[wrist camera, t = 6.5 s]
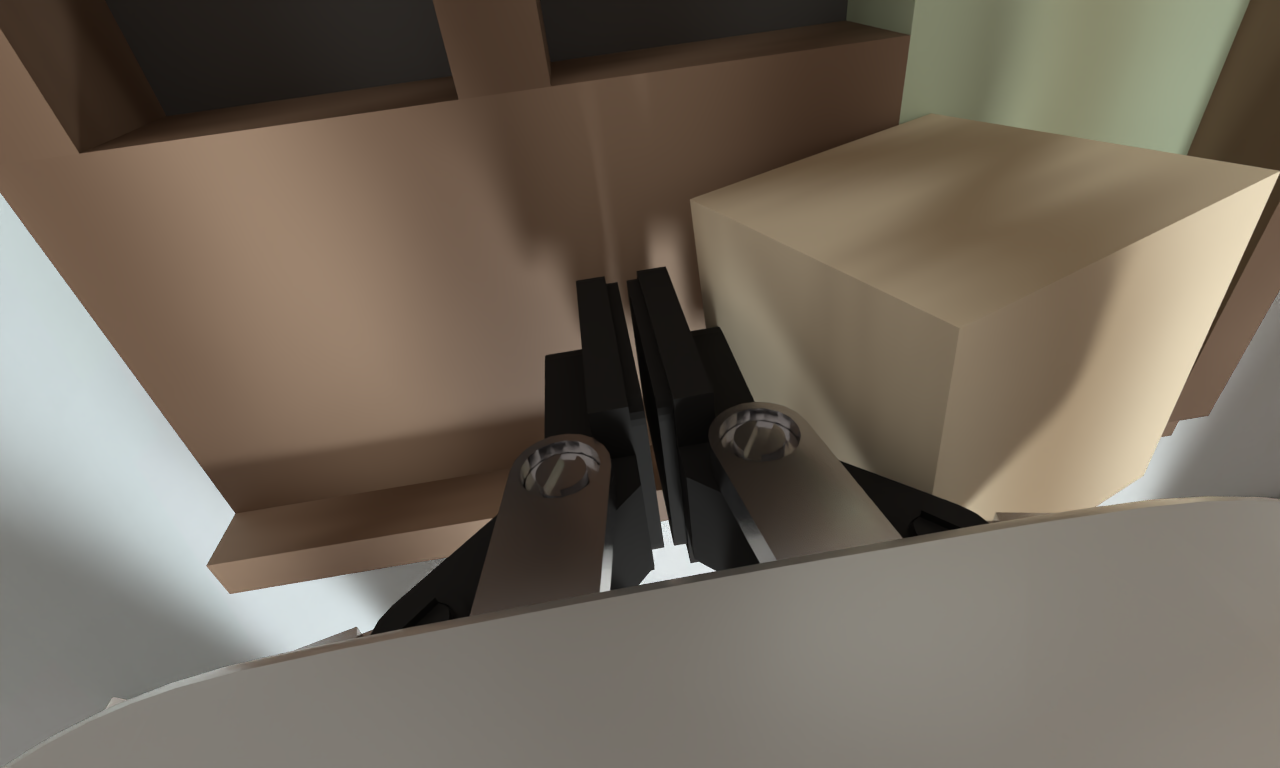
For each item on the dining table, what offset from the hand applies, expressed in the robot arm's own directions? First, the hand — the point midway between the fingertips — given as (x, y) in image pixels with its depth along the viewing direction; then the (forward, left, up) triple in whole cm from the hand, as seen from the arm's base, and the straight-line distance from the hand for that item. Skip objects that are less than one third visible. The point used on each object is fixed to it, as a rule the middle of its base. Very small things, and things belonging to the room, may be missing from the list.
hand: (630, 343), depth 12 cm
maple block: (-4, 0, 0) cm, 4 cm away
